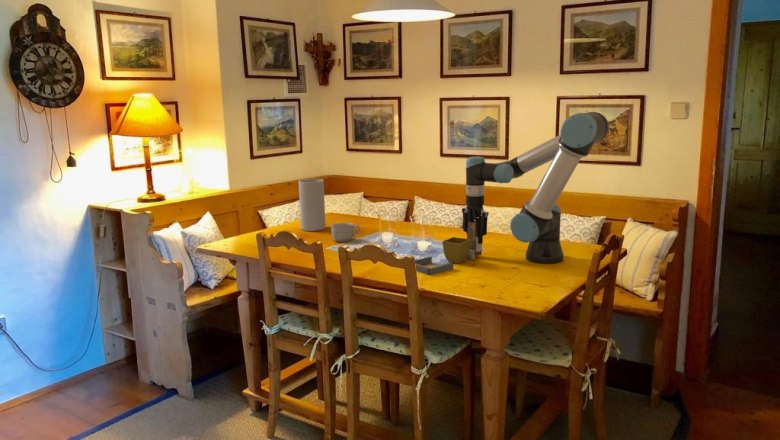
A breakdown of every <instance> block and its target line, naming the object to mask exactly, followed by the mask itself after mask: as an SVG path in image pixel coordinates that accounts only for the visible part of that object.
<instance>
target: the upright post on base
mask: <svg viewBox="0 0 780 440" xmlns="http://www.w3.org/2000/svg"><path fill="white" fill-rule="evenodd" d="M476 235H477V229H476V222H475V220H474V221H472V222H468V239H471V243H470V250H469V254H468V256H467V258H466V259H470V260H475V257H479V256H482V253H483V250H482V251H479V252H476Z"/></svg>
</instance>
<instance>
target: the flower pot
mask: <svg viewBox="0 0 780 440" xmlns="http://www.w3.org/2000/svg"><path fill="white" fill-rule="evenodd" d="M470 243H471V239H467V238H464V237H463V238H462V237H457V236H455V237H454V236H451V237H449V238H447V239H445V240H442V242H441V244H442V249H443V250H442V251H443V254H444V255H443V256H445V258H446V260H447V261H448V262H447V263H453V264H461V263H462V262H465V261H466V260H467V259H468V258H467V256H468V254H469V250H470Z"/></svg>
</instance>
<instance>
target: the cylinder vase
mask: <svg viewBox="0 0 780 440" xmlns="http://www.w3.org/2000/svg"><path fill="white" fill-rule="evenodd" d="M324 185H325V183H324V179H321V178H305V179H300V180H298V195H299V212H300V215H299V216H300V217H299V218H300V228H301V230H302V231H305V232H320V231H322V230H325V229H326V227H327V226H326V225H327V224H326V206H325V187H324Z"/></svg>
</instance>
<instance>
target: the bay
mask: <svg viewBox="0 0 780 440" xmlns="http://www.w3.org/2000/svg"><path fill="white" fill-rule="evenodd" d="M414 260H415V264H416V270H417V271H416V272H418V273H421V274H423V275H424V274H425V275H426V276H433V275H434V276H435V275H436V274H437V275H438V274H441V273H445V272H448V271H452V270H454V263H453V262H447V263H444V264H441V265H436V266H432V267H430V266H425V265H429V264H432V263H433V262H432V261H433V257H432V256H426V257H422V258H417V259H414Z"/></svg>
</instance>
